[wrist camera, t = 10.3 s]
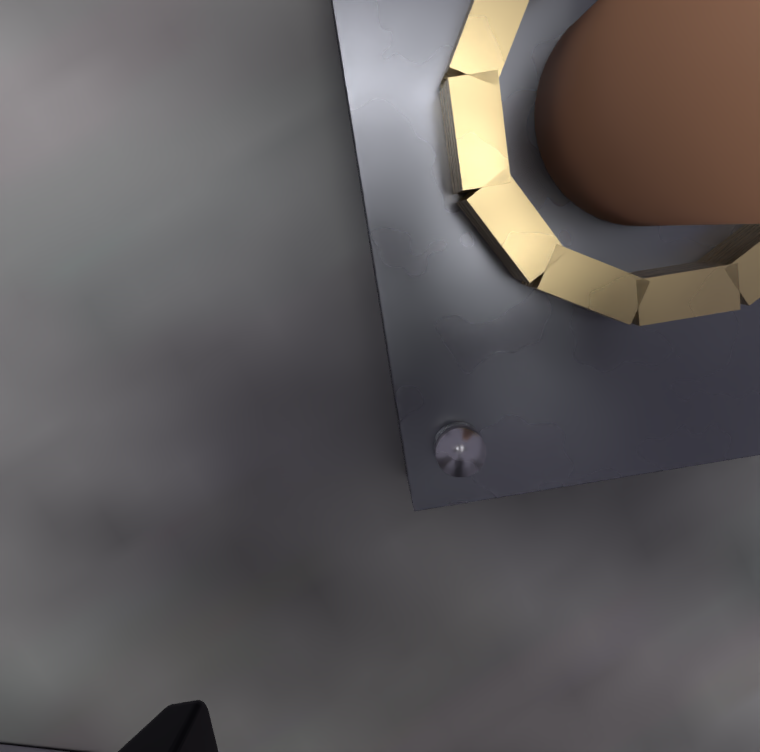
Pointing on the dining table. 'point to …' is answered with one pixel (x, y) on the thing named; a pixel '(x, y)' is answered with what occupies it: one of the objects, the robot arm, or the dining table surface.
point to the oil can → (656, 112)
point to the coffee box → (23, 749)
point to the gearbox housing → (530, 273)
